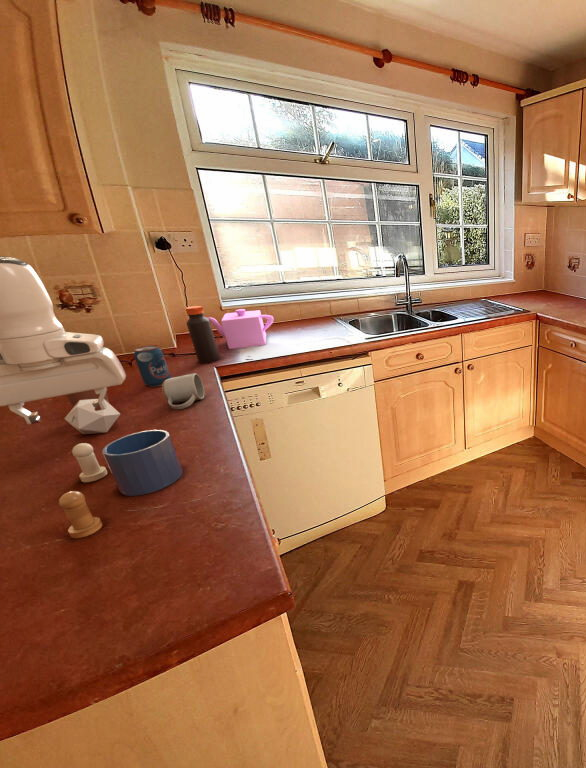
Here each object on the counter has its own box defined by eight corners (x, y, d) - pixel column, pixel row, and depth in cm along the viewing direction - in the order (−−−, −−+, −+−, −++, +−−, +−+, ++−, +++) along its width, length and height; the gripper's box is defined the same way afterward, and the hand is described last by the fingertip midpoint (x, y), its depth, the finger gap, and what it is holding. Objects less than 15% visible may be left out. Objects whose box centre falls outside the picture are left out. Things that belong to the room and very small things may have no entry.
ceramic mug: (173, 398, 124) (165, 374, 121) (206, 393, 127) (199, 369, 124) (163, 413, 115) (153, 387, 112) (198, 407, 118) (190, 382, 115)
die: (80, 431, 108) (46, 413, 99) (112, 404, 112) (82, 385, 103) (103, 446, 106) (70, 429, 97) (135, 419, 110) (107, 400, 102)
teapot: (213, 342, 180) (203, 309, 175) (278, 334, 191) (271, 303, 185) (207, 351, 168) (197, 317, 162) (278, 342, 178) (270, 309, 173)
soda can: (161, 387, 133) (148, 351, 128) (139, 387, 133) (125, 351, 128) (177, 379, 139) (165, 344, 135) (156, 379, 139) (143, 344, 135)
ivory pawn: (79, 484, 84) (63, 451, 82) (83, 475, 88) (68, 443, 85) (105, 477, 87) (91, 445, 84) (109, 469, 90) (95, 437, 87)
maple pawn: (68, 542, 69) (48, 503, 67) (73, 528, 73) (54, 491, 70) (100, 532, 72) (82, 494, 69) (104, 519, 75) (87, 482, 72)
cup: (116, 502, 79) (97, 461, 76) (123, 477, 87) (107, 439, 83) (181, 484, 84) (167, 444, 81) (183, 461, 92) (170, 425, 88)
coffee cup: (124, 414, 115) (107, 373, 110) (79, 427, 108) (59, 384, 103) (113, 407, 119) (96, 367, 115) (69, 419, 113) (50, 377, 108)
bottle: (197, 360, 157) (180, 307, 150) (218, 356, 161) (203, 304, 154) (200, 364, 153) (183, 310, 145) (222, 360, 157) (206, 307, 149)
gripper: (-59, 364, 69) (-16, 438, 74) (106, 341, 80) (133, 407, 85) (-42, 355, 74) (-3, 425, 79) (111, 334, 84) (137, 397, 90)
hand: (69, 415), depth 82 cm, fingers open, 8 cm apart
